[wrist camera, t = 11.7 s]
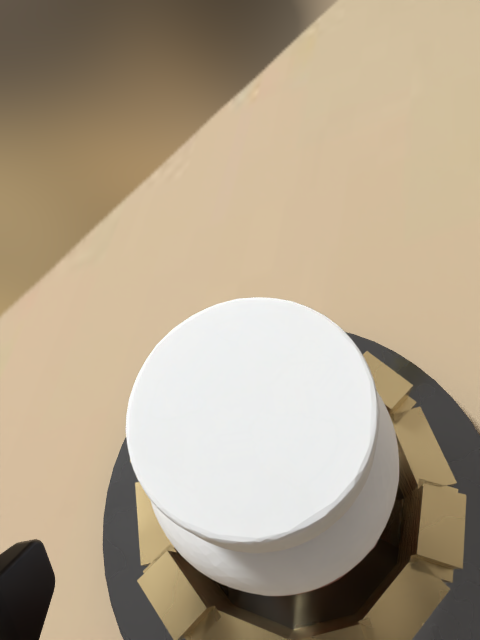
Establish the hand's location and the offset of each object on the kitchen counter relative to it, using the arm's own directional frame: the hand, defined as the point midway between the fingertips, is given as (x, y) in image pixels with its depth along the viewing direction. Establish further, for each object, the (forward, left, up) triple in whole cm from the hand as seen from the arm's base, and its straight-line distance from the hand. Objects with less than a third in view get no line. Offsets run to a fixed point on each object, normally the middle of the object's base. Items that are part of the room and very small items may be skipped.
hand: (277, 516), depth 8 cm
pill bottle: (+2, 0, -10) cm, 10 cm away
